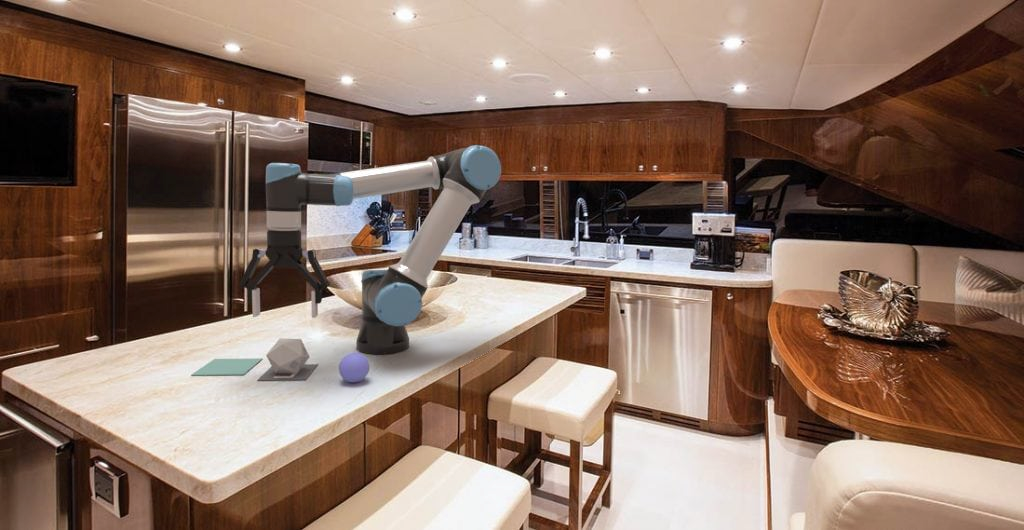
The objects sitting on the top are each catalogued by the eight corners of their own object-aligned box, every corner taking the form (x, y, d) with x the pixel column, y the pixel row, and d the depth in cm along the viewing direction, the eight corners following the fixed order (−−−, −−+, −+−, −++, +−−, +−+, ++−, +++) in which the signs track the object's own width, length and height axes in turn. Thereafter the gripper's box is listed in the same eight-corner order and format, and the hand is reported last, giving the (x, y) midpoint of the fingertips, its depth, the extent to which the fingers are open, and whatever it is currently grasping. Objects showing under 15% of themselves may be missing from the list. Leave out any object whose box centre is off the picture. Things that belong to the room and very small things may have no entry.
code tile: (317, 365, 131) (317, 364, 131) (305, 380, 121) (305, 379, 121) (273, 365, 130) (273, 364, 130) (257, 381, 119) (257, 379, 119)
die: (282, 383, 119) (309, 347, 121) (252, 362, 120) (279, 327, 122) (296, 383, 127) (321, 349, 130) (268, 363, 128) (293, 330, 130)
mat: (262, 359, 135) (262, 358, 135) (244, 375, 123) (243, 374, 123) (214, 359, 133) (214, 358, 133) (191, 375, 121) (191, 374, 121)
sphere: (369, 375, 125) (369, 348, 124) (369, 385, 119) (369, 357, 118) (339, 377, 123) (339, 349, 122) (337, 387, 117) (337, 358, 116)
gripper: (341, 229, 126) (341, 313, 128) (235, 226, 123) (238, 311, 126) (334, 231, 118) (335, 320, 121) (221, 228, 115) (224, 319, 118)
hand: (285, 316), depth 123 cm, fingers open, 13 cm apart
